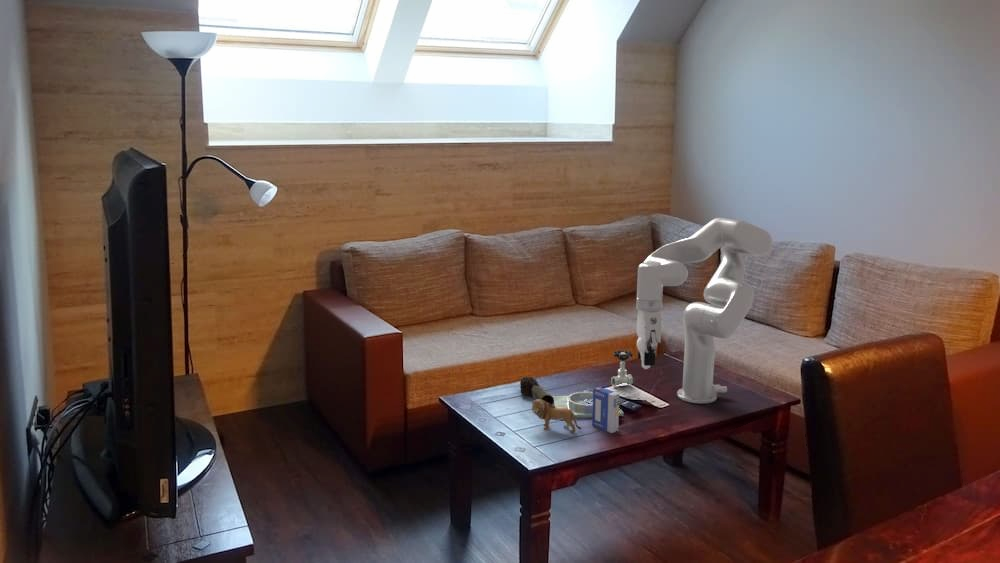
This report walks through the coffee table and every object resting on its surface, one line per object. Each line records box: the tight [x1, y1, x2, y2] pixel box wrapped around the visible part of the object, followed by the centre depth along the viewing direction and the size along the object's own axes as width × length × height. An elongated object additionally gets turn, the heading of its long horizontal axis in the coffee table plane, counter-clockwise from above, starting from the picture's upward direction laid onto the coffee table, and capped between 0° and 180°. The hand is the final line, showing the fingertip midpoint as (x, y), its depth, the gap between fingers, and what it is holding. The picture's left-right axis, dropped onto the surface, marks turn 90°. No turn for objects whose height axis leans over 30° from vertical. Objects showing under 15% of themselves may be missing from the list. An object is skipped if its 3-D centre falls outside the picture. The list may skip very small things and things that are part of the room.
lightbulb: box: [636, 337, 658, 370], centre depth 242 cm, size 6×6×11 cm
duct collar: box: [551, 391, 625, 420], centre depth 252 cm, size 20×16×3 cm
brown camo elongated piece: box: [519, 376, 554, 406], centre depth 260 cm, size 18×7×6 cm, turn 20°
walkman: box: [591, 386, 620, 434], centre depth 236 cm, size 8×3×12 cm, turn 42°
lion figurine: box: [531, 399, 582, 434], centre depth 235 cm, size 15×5×9 cm, turn 83°
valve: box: [610, 349, 634, 387], centre depth 270 cm, size 7×7×12 cm
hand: (646, 361), depth 243 cm, fingers closed on lightbulb, 5 cm apart
